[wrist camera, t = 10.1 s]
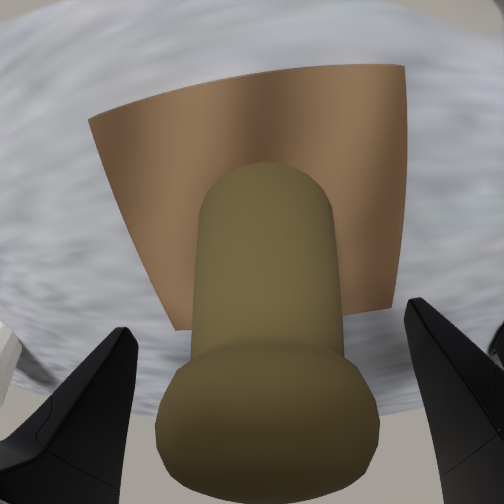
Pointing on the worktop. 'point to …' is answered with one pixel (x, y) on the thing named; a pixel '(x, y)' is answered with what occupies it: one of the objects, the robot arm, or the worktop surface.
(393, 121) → the walnut coaster board
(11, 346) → the white faceted cup
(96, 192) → the worktop surface
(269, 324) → the cork
